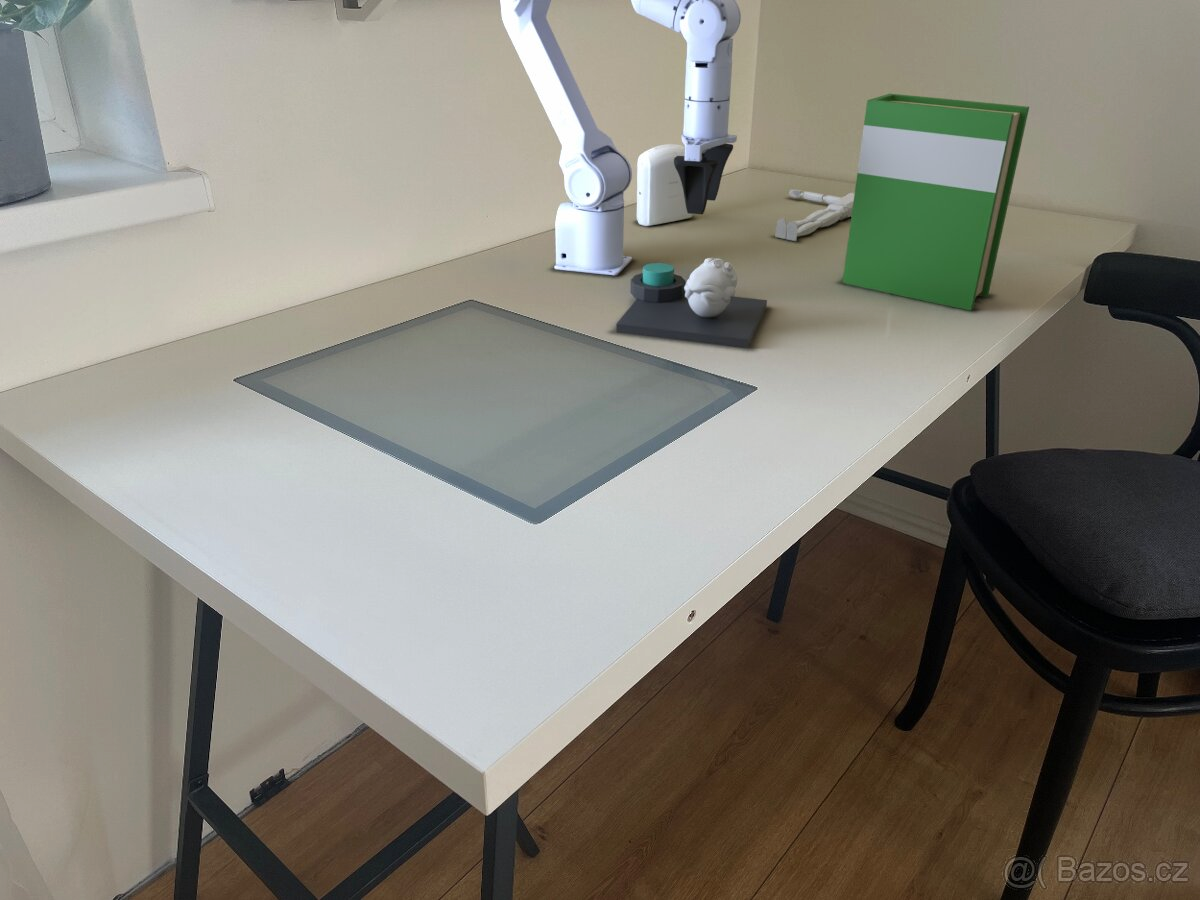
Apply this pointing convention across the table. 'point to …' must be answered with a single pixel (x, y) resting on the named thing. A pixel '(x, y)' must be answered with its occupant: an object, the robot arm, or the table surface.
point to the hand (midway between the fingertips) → (701, 206)
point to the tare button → (658, 274)
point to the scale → (688, 316)
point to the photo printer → (660, 186)
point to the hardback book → (932, 196)
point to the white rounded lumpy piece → (711, 287)
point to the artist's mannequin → (816, 215)
